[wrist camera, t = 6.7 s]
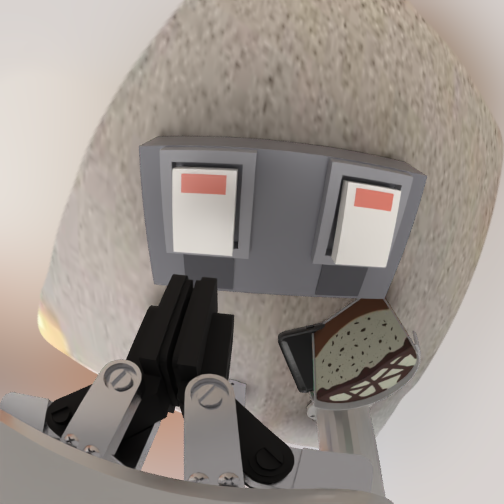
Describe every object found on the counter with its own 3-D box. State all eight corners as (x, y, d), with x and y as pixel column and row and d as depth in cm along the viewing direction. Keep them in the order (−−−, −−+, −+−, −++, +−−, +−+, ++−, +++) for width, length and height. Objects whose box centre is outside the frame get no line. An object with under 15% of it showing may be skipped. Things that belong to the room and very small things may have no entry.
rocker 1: (233, 248, 20) (231, 256, 19) (177, 244, 20) (173, 252, 18) (238, 168, 17) (236, 171, 16) (177, 166, 17) (172, 168, 16)
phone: (300, 393, 39) (276, 337, 32) (299, 388, 40) (275, 330, 33) (349, 383, 38) (342, 322, 30) (348, 377, 39) (340, 315, 31)
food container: (331, 354, 35) (342, 420, 26) (301, 335, 32) (310, 408, 24) (408, 303, 30) (439, 368, 21) (386, 276, 27) (421, 347, 19)
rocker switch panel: (371, 273, 27) (387, 306, 23) (166, 258, 27) (150, 291, 23) (404, 161, 21) (433, 180, 17) (158, 136, 20) (133, 149, 16)
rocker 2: (379, 261, 20) (386, 267, 18) (331, 257, 20) (335, 264, 18) (393, 188, 18) (401, 191, 17) (342, 179, 18) (348, 182, 16)
